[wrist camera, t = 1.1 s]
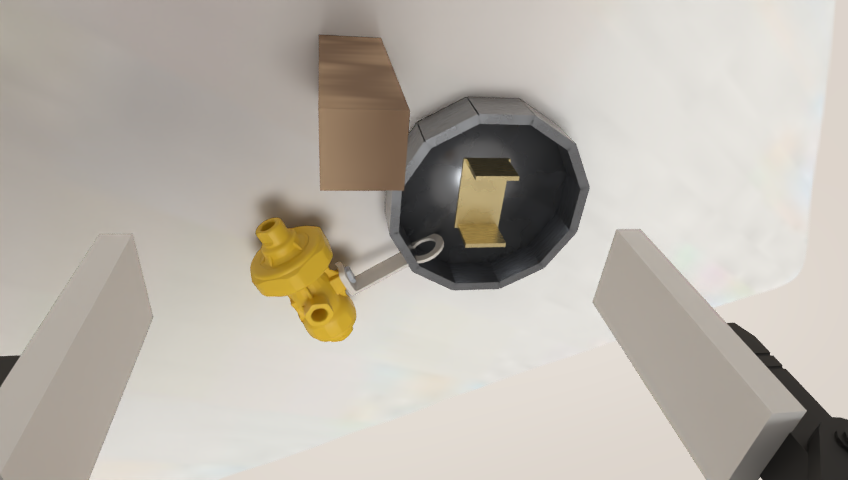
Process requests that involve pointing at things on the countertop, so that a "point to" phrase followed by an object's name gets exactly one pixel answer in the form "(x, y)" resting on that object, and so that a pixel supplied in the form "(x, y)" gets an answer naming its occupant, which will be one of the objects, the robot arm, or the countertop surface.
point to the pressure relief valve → (318, 276)
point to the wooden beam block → (360, 117)
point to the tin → (487, 193)
